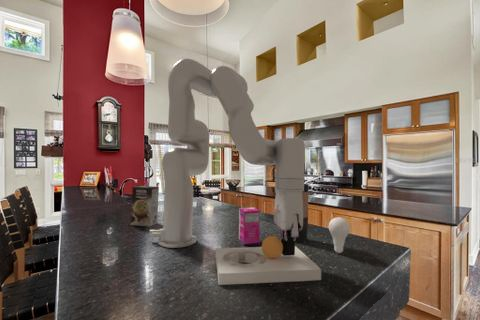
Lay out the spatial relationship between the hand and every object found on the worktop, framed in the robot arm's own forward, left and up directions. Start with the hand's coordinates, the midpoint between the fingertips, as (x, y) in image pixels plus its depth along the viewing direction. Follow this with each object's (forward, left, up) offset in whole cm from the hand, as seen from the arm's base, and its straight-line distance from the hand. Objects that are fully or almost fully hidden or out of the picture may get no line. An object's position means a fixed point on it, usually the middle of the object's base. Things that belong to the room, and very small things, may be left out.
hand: (287, 254), depth 63 cm
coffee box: (-47, +47, -3) cm, 66 cm away
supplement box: (-7, +20, -3) cm, 21 cm away
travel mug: (+11, +22, -3) cm, 25 cm away
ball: (-4, 0, +2) cm, 5 cm away
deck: (-7, 0, -3) cm, 7 cm away
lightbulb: (+19, +8, -3) cm, 21 cm away
